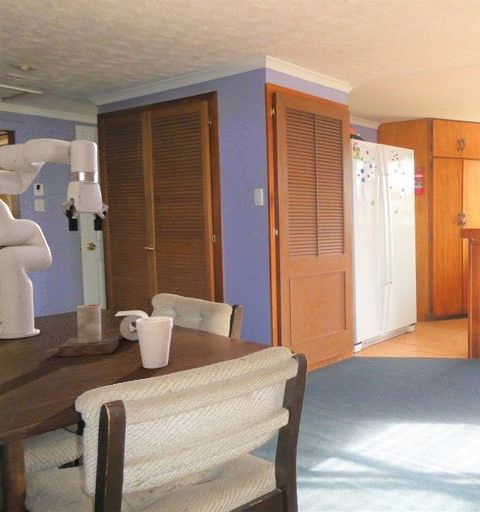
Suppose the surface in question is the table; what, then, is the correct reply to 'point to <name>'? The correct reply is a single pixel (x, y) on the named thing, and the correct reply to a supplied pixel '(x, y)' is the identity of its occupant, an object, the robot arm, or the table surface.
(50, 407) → the table surface
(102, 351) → the brown square plate
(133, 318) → the toilet paper holder
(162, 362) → the foam cup
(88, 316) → the rotary dial knob
